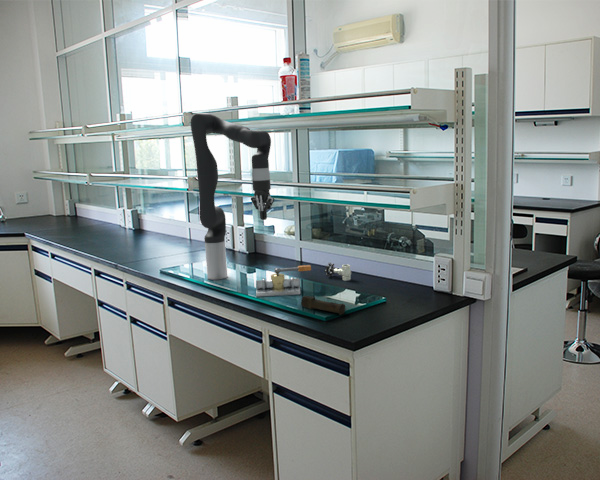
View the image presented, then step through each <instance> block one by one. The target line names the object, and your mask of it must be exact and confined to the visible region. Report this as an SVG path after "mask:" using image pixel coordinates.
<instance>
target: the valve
mask: <svg viewBox="0 0 600 480" xmlns="http://www.w3.org/2000/svg"><path fill="white" fill-rule="evenodd" d="M325 268H326V269H324V272H325V273H326V274H325V276H326V277H329V278H332V277H333V275H335V274H338V276H342V279H341V280H342V281H344V282H346V281H348V282H349V281H351V279H352V278H351V275H352V270H351V265H350V264H342V265H341V268H339V269H338V268H336V267H335V263H332V262H328V265H327V264H326V265H325Z"/></svg>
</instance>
